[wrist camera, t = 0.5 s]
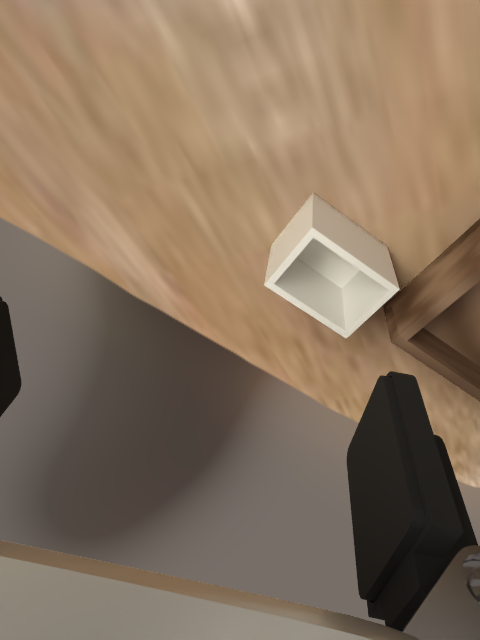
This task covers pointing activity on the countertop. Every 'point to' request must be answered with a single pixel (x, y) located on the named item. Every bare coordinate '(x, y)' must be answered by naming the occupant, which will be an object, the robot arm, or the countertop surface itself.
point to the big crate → (443, 314)
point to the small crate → (330, 267)
